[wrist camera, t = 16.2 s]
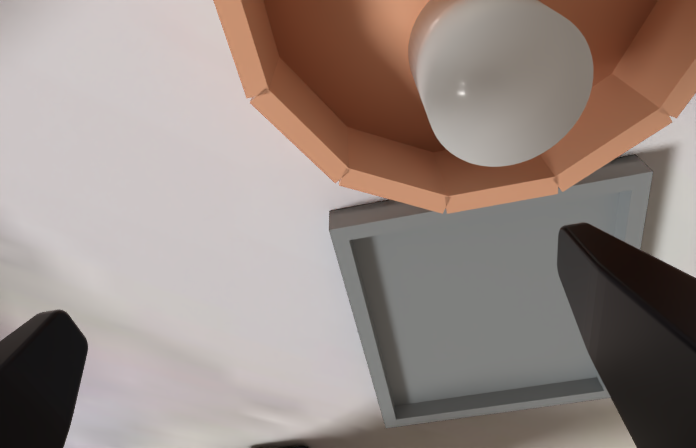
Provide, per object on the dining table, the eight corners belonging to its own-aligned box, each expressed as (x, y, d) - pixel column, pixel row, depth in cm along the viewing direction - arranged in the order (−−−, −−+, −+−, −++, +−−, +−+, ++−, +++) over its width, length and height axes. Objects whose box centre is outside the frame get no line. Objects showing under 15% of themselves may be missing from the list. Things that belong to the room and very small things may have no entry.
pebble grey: (537, 95, 18) (587, 150, 14) (416, 120, 18) (435, 179, 15) (539, -39, 15) (599, -13, 12) (399, -7, 16) (416, 28, 12)
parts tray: (604, 375, 28) (616, 397, 27) (384, 406, 30) (385, 428, 29) (635, 154, 20) (653, 171, 19) (329, 211, 22) (329, 230, 20)
